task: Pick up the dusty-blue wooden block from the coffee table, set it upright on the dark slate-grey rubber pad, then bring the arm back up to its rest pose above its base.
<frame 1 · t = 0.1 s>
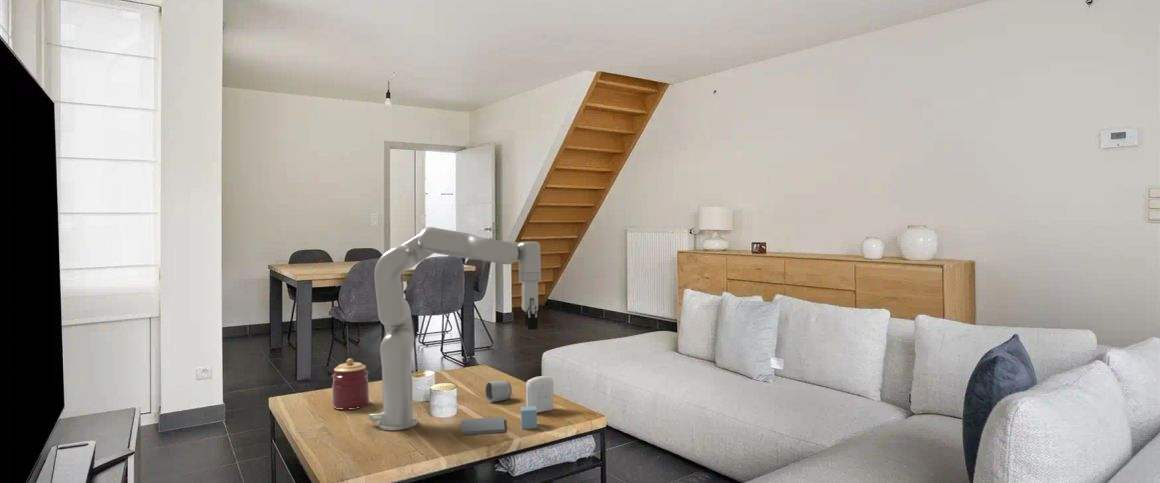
hand: (531, 327, 215), 31 cm above the table, tool pointing down, fingers open, 9 cm apart
blue block: (528, 426, 206), on the table
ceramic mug: (496, 400, 238), on the table
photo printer: (540, 411, 222), on the table
canister: (351, 406, 234), on the table
slate pad: (482, 427, 206), on the table
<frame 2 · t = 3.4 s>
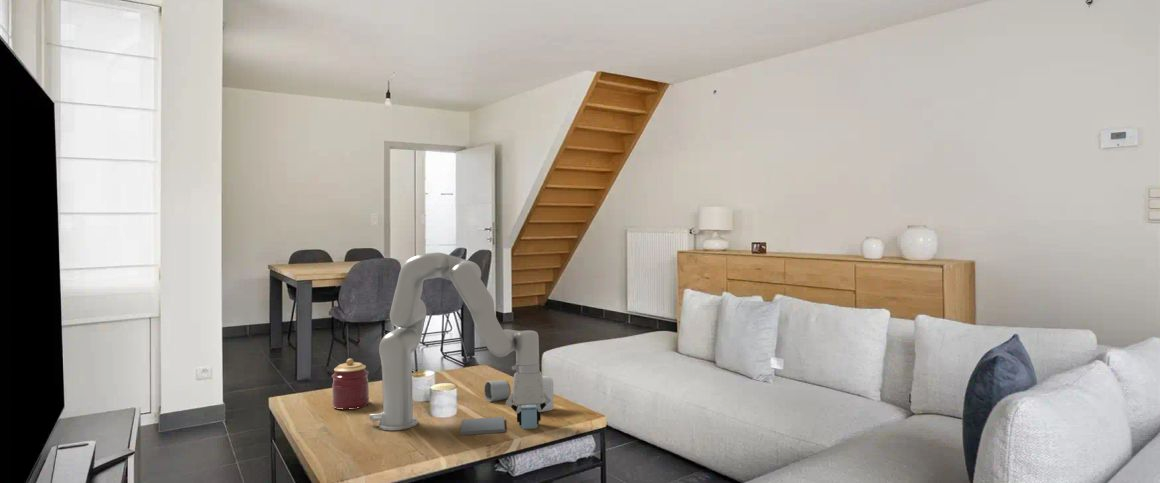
hand: (528, 423, 206), 1 cm above the table, tool pointing down, fingers closed on blue block, 5 cm apart
blue block: (528, 426, 206), on the table, touching gripper
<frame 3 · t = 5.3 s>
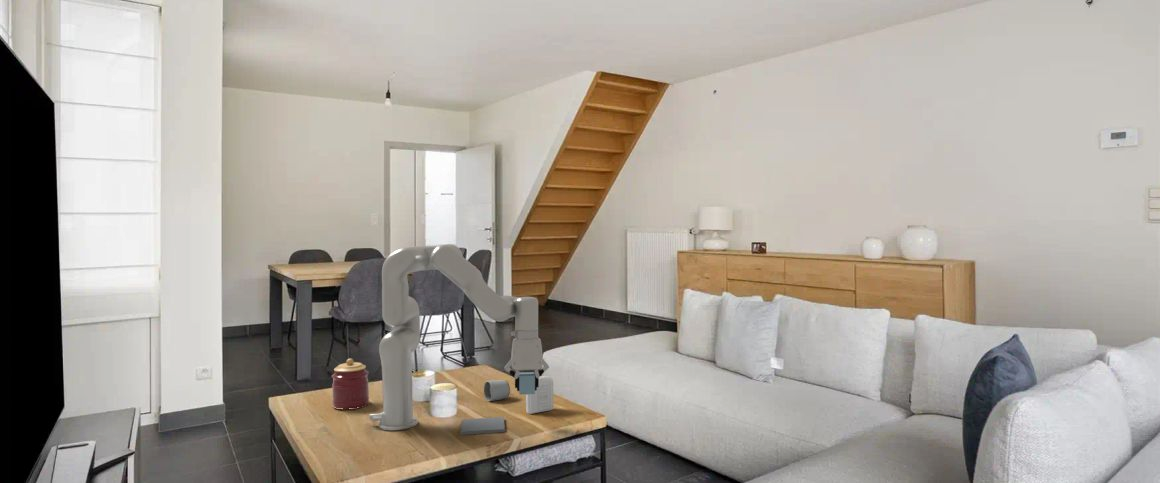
hand: (526, 389, 206), 12 cm above the table, tool pointing down, fingers closed on blue block, 5 cm apart
blue block: (526, 392, 206), point 11 cm above the table, touching gripper
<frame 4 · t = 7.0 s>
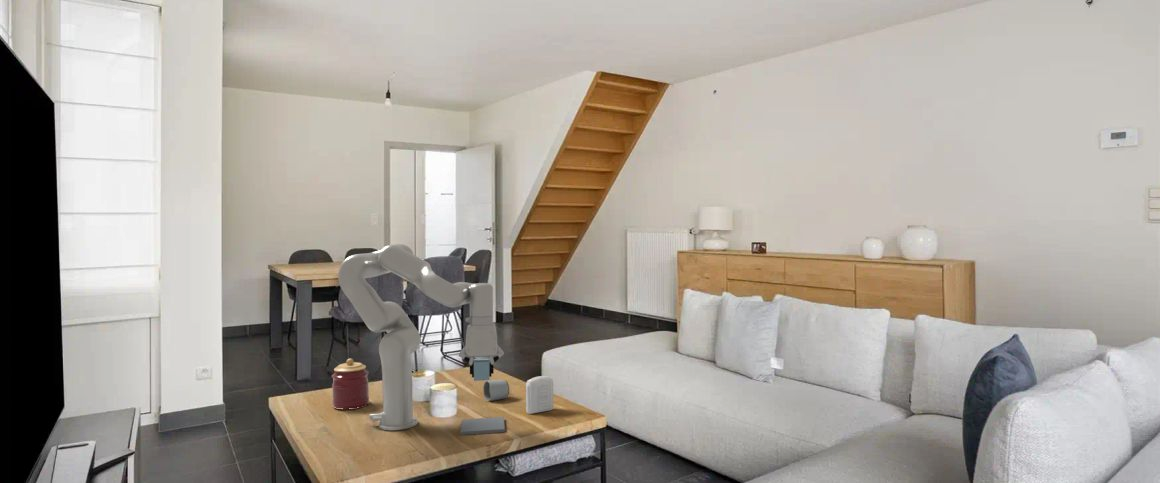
hand: (481, 375, 205), 17 cm above the table, tool pointing down, fingers closed on blue block, 5 cm apart
blue block: (481, 378, 205), point 16 cm above the table, touching gripper
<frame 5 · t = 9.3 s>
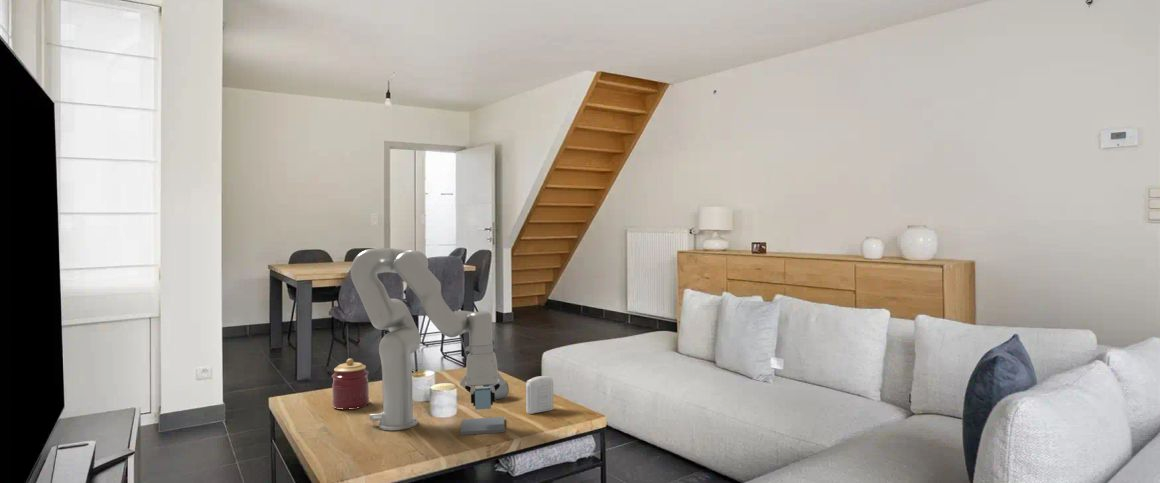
hand: (483, 404, 205), 8 cm above the table, tool pointing down, fingers closed on blue block, 5 cm apart
blue block: (483, 407, 205), point 7 cm above the table, touching gripper
when the fingers open (3 cm above the table, at t = 10.9 s): blue block stays where it is, resting on slate pad.
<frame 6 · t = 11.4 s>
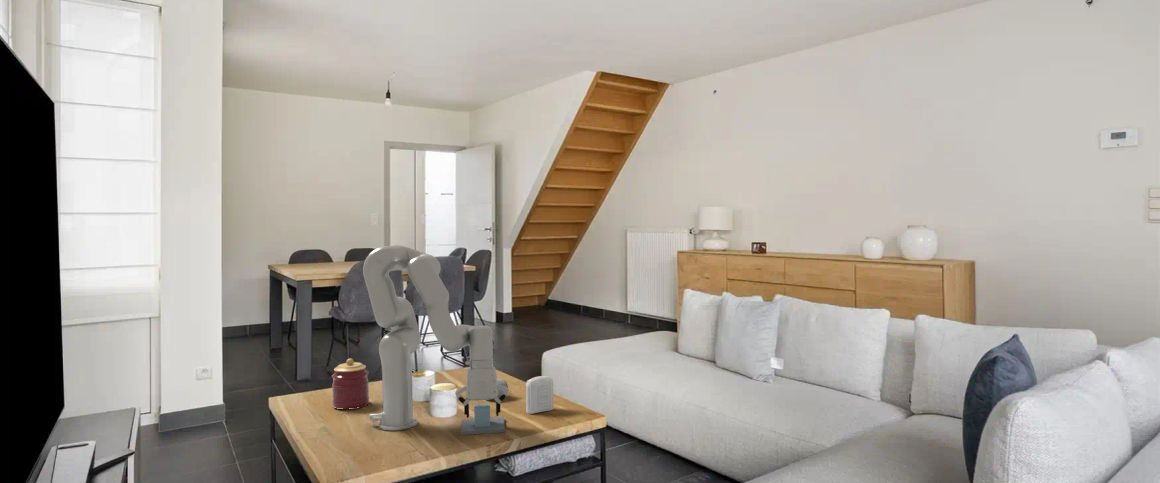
hand: (482, 415, 205), 4 cm above the table, tool pointing down, fingers open, 9 cm apart
blue block: (482, 424, 206), point 1 cm above the table, touching slate pad
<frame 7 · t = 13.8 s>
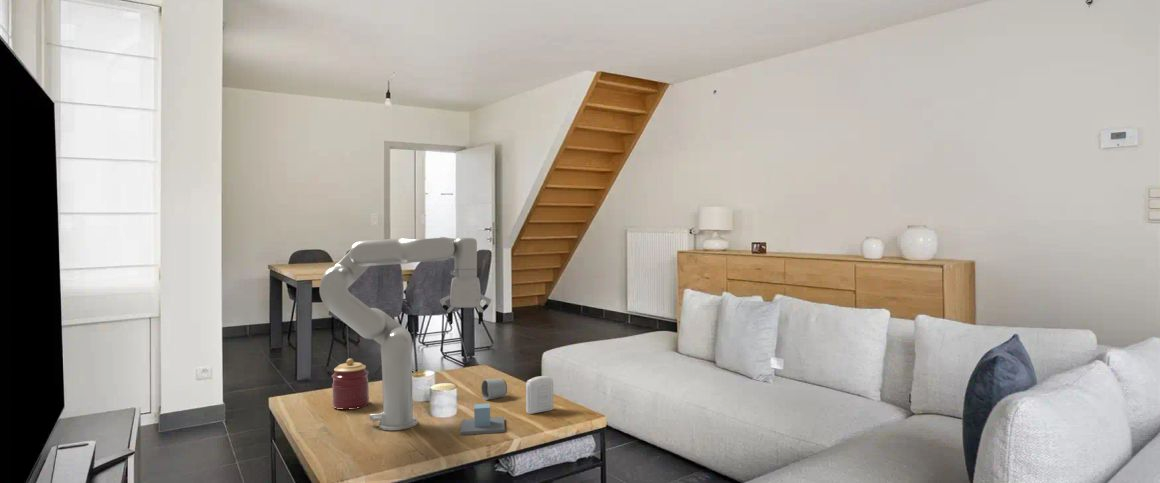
hand: (465, 323, 214), 33 cm above the table, tool pointing down, fingers open, 9 cm apart
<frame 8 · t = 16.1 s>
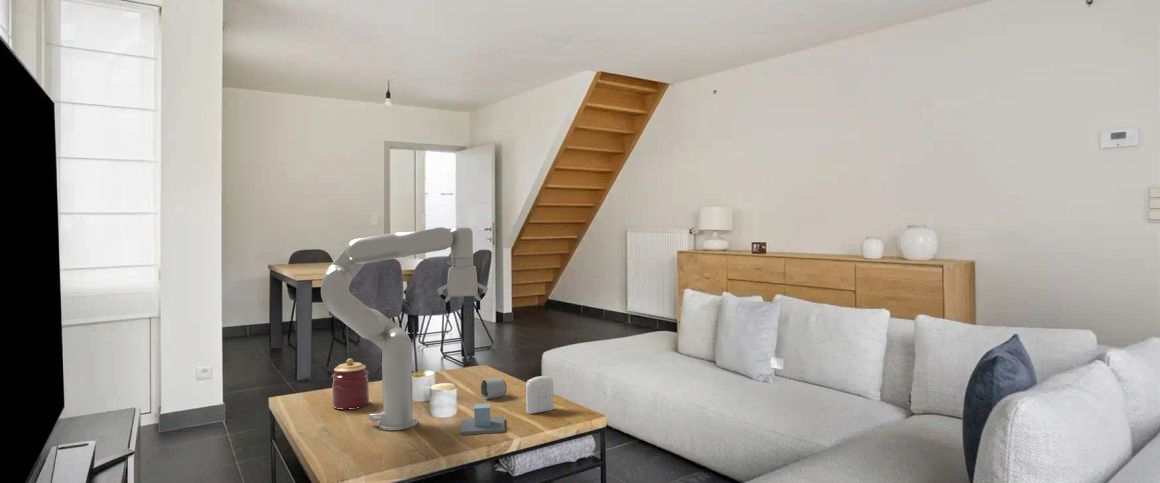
hand: (463, 312, 217), 36 cm above the table, tool pointing down, fingers open, 9 cm apart
at the end: blue block inside the target area on the slate pad (0.1 cm from its centre), point 1.0 cm above the slate pad's base; blue block tilted 0°; the gripper is holding nothing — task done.
